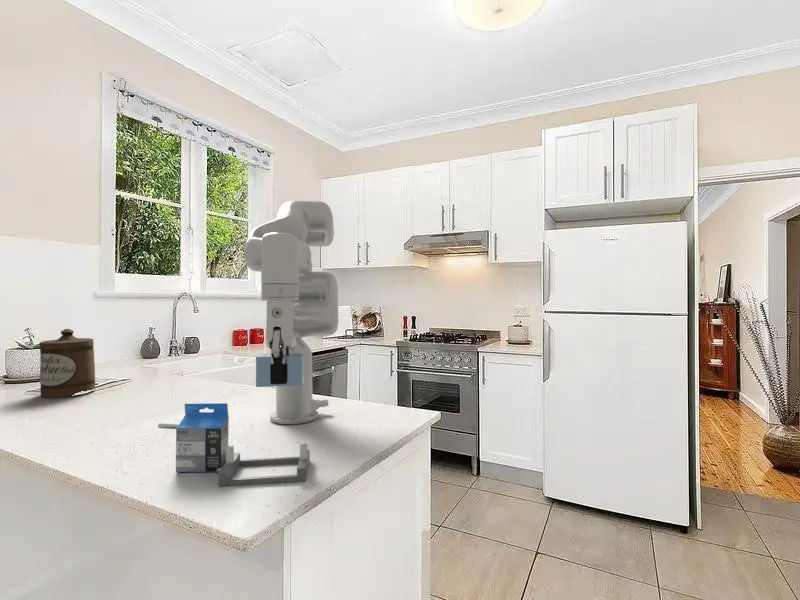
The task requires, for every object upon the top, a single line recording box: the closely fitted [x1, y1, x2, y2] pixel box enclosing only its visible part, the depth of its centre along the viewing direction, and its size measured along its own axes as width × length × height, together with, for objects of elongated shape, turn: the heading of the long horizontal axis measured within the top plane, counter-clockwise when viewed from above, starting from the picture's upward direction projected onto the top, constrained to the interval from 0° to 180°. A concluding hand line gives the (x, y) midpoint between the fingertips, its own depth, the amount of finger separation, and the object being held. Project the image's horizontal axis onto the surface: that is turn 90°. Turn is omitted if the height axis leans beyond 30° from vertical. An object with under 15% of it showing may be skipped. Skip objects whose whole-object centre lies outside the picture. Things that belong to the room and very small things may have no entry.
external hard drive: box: [157, 410, 212, 428], centre depth 116 cm, size 2×8×12 cm
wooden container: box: [39, 328, 96, 399], centre depth 148 cm, size 15×15×22 cm
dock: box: [217, 442, 311, 487], centre depth 82 cm, size 10×15×5 cm, turn 97°
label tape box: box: [175, 402, 230, 473], centre depth 84 cm, size 9×4×12 cm, turn 90°
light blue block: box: [255, 353, 304, 388], centre depth 90 cm, size 5×9×6 cm, turn 98°
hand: (280, 380), depth 90 cm, fingers closed on light blue block, 5 cm apart
